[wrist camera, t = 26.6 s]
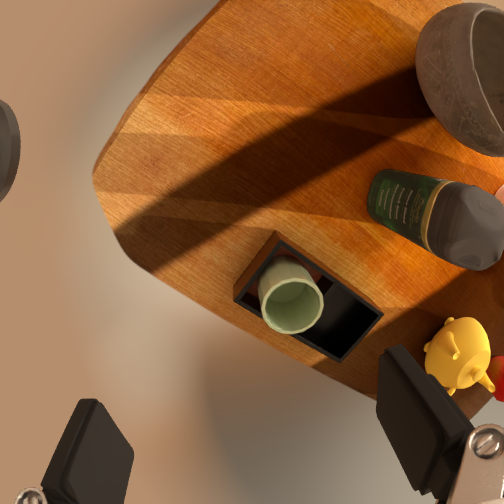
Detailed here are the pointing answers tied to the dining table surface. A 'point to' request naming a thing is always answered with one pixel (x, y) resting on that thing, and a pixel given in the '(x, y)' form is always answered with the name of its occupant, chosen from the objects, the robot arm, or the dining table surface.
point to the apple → (497, 376)
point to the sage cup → (288, 295)
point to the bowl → (465, 74)
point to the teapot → (459, 355)
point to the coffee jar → (440, 216)
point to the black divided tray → (334, 298)
